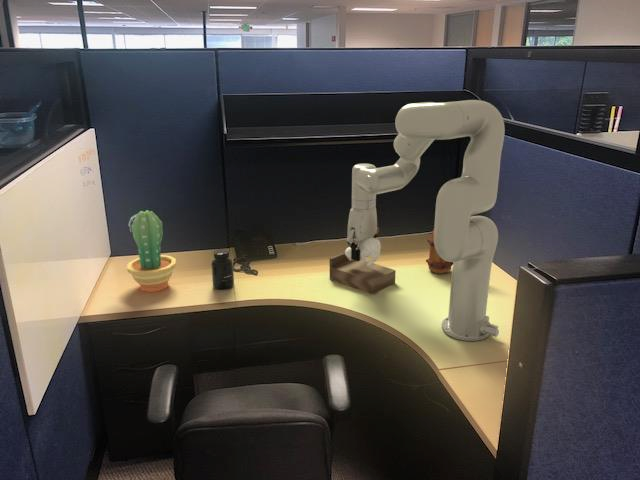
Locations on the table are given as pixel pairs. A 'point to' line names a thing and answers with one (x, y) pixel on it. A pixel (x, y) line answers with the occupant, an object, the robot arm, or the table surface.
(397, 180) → the robot arm
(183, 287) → the table surface
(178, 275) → the table surface
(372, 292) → the display ledge
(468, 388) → the table surface
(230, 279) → the supplement bottle
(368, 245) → the white animal figurine
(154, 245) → the potted cactus
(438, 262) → the mug
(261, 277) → the table surface
